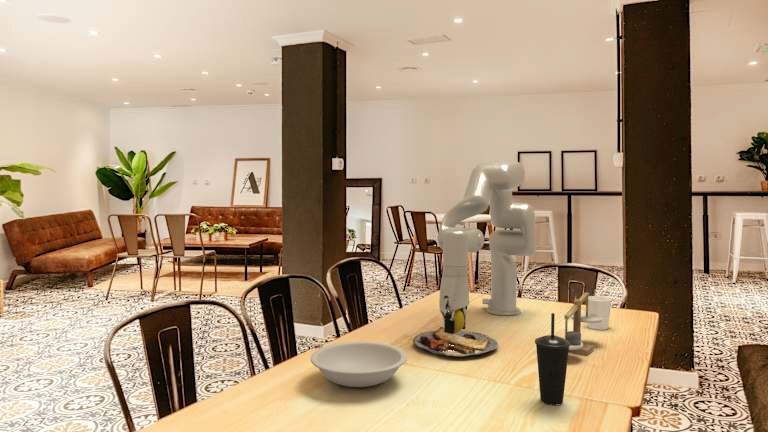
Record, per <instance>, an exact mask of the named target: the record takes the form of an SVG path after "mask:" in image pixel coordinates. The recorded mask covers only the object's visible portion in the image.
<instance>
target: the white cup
mask: <svg viewBox="0 0 768 432" xmlns="http://www.w3.org/2000/svg"><path fill="white" fill-rule="evenodd" d="M611 302H612V299H611V298H609V297H605V296H599V295H589V297H588V313H590V314H596V315H599V316H602V317H603V321H602V322H599V323H586V325H587V328H589V329H592V330H598V331H600V330H602V331H605V330H607V329H609V325H610V323H609V322H610V317H611Z"/></svg>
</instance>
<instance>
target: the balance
mask: <svg viewBox="0 0 768 432" xmlns="http://www.w3.org/2000/svg"><path fill="white" fill-rule="evenodd" d="M589 296H590V292H586V291H584V293H583V294H582V295H581V296H580V297H579V298H577V299H574V300H573V302H572V303H573V305H572V306H571V307H570V308H569V310H567V312H566V313H565V314H564V315H563V316H564V318H563V319H564V320H565V321H564V325H565V326H564V337H563V338H564V339H565V340H568V341H569V342H570V343H571V345H570V347H569V352H568V353H570V354H576V355H580V356H588V355H589V356H590V354H592V353H593V352H594V351H595V350H594V349H595V348H594V347H595V346H594V345H593V344H588V343H583V342H582V333H581V325H582V323H586V324H587V323H599V322H602V321H603V317H602V316H599V315H596V314H590V313H588V297H589ZM584 303H585V312H582V305H583V304H584ZM570 319H571V320H573V328H572V329H573V330H570V331H568V320H570Z"/></svg>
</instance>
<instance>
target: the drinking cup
mask: <svg viewBox="0 0 768 432" xmlns="http://www.w3.org/2000/svg"><path fill="white" fill-rule="evenodd" d="M550 314H551V316H550V317H551V318H550V319H551V320H550V324H551V325H550V327H551V328H550V334H548V335H543V336H540V337H537V338H535V340H534V343H535V345H536V346H535V347H536V348H535V349H536V357H537V358H536V359H537V361H536V362H537V370H538V385H539V396H540V398H539V399H540V402H541V403H543V402H544V403H543V404H545V403H547V404H546V405H549V404H552V405H551V406H557V405H556V404H560V405H562V404H563V403H564V396H565V395H564V394H565V388H566V387H565V386H566V377H567V370H568V369H567V368H568V361H569V360H568V359H569V353H570V352H569V347H570V345H571V343H570V342H569V341H568V340H565V339H564V338H565V337H562V336H558V335H555V316H556V315H555V312H552V313H550ZM561 403H562V404H561ZM553 404H554V405H553Z"/></svg>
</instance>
